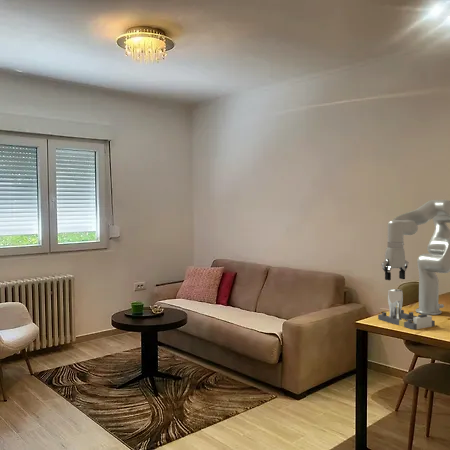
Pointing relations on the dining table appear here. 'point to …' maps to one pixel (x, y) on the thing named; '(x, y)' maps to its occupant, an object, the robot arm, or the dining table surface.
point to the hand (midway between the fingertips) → (395, 279)
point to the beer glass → (395, 302)
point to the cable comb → (409, 320)
